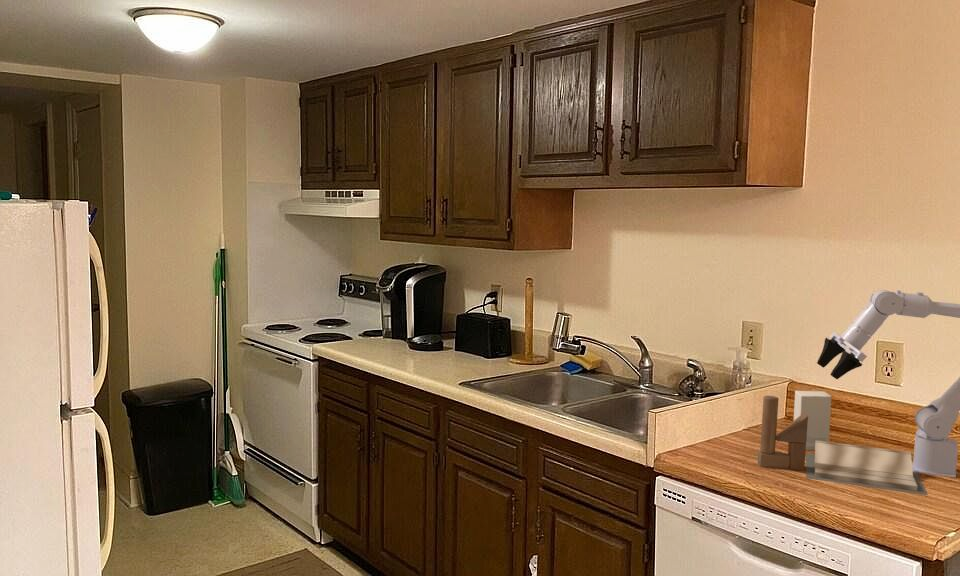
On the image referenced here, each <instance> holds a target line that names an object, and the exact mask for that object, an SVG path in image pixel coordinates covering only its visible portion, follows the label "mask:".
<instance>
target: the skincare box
mask: <svg viewBox="0 0 960 576" xmlns="http://www.w3.org/2000/svg"><path fill="white" fill-rule="evenodd" d="M832 398H833V396H832V395H830V394H829V393H828V392H826V391H824V390H818V391H817V390H795V391H794V406H793V421H794V420H795V419H797V418H798V417H799V416H800V415H802V414H803V413H805V414H806V415H807V416H808V425H807V439H806V451H811V452H812V451H813V452H815V442H816V440H817V441H825V442H830V430H831V429H830V428H831V412H832V411H831V410H832Z"/></svg>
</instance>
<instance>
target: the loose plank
mask: <svg viewBox="0 0 960 576" xmlns="http://www.w3.org/2000/svg"><path fill="white" fill-rule="evenodd" d="M814 455H815V463H818V464H826V465H833V466H840V467H848V468H855V469H863V470H870V471H878V472H885V473H892V474H900V475H907V476H913V470H912V462H913V461H912V460H913V459H912V452H911V451H903V450H896V449H888V448H882V447H881V448H880V447H872V446H871V447H870V446H864V445H854V444H848V443H839V442H833V441H832V442H831V441H829V442H825V441H817V440H816V442H815V451H814Z"/></svg>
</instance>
